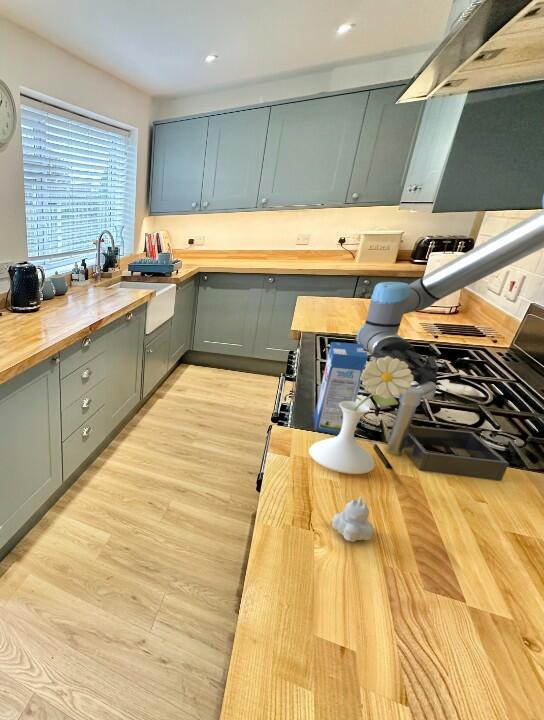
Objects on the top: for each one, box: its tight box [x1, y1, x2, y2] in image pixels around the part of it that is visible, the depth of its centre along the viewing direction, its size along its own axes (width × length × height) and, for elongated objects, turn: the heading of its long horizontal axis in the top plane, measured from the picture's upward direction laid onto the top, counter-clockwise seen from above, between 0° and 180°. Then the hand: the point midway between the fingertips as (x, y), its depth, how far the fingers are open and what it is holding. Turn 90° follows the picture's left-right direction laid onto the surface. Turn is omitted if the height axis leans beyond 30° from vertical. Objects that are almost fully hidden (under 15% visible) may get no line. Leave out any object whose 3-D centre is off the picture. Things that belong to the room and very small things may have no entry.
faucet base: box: [373, 402, 418, 469], centre depth 87 cm, size 4×8×13 cm, turn 159°
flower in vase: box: [308, 356, 414, 475], centre depth 84 cm, size 13×11×25 cm
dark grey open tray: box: [402, 425, 510, 482], centre depth 86 cm, size 12×12×6 cm
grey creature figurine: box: [331, 496, 374, 543], centre depth 69 cm, size 5×7×8 cm
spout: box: [398, 382, 437, 407], centre depth 86 cm, size 11×3×4 cm, turn 119°
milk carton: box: [314, 341, 369, 435], centre depth 101 cm, size 10×6×20 cm, turn 149°
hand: (431, 384), depth 89 cm, fingers closed
